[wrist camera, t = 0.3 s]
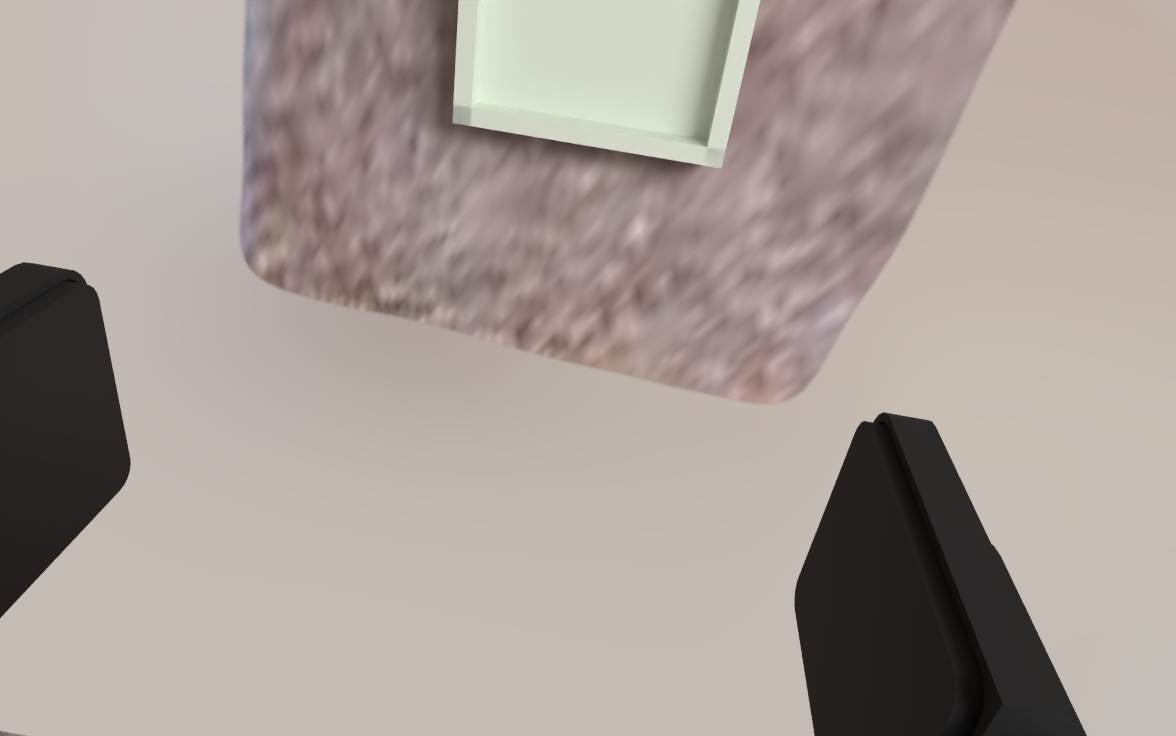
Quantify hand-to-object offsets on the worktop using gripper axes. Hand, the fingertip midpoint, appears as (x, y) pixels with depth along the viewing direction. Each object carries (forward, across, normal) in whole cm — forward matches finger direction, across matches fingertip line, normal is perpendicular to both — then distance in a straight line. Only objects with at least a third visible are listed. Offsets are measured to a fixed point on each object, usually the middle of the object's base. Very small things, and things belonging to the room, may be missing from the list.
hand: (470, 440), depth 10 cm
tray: (+29, +1, -1) cm, 29 cm away
